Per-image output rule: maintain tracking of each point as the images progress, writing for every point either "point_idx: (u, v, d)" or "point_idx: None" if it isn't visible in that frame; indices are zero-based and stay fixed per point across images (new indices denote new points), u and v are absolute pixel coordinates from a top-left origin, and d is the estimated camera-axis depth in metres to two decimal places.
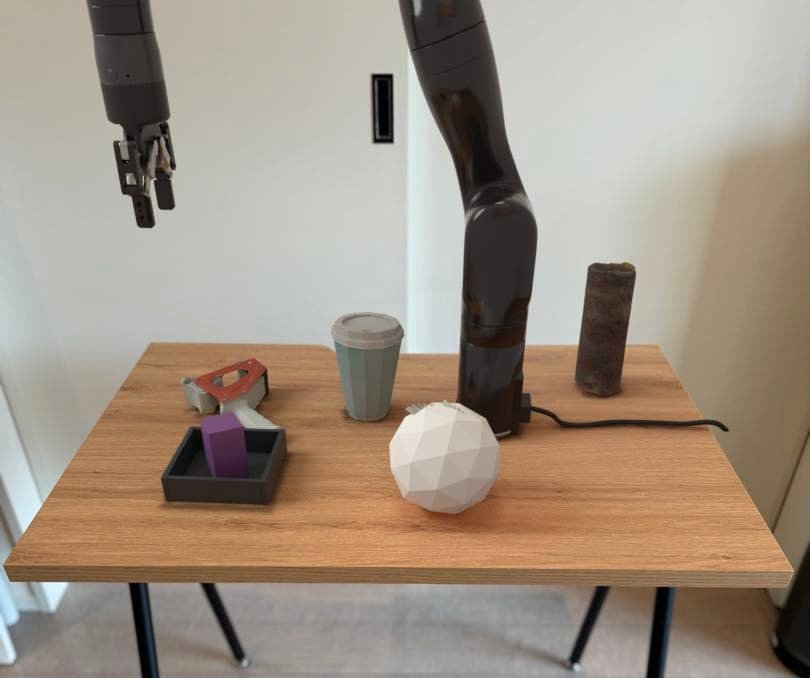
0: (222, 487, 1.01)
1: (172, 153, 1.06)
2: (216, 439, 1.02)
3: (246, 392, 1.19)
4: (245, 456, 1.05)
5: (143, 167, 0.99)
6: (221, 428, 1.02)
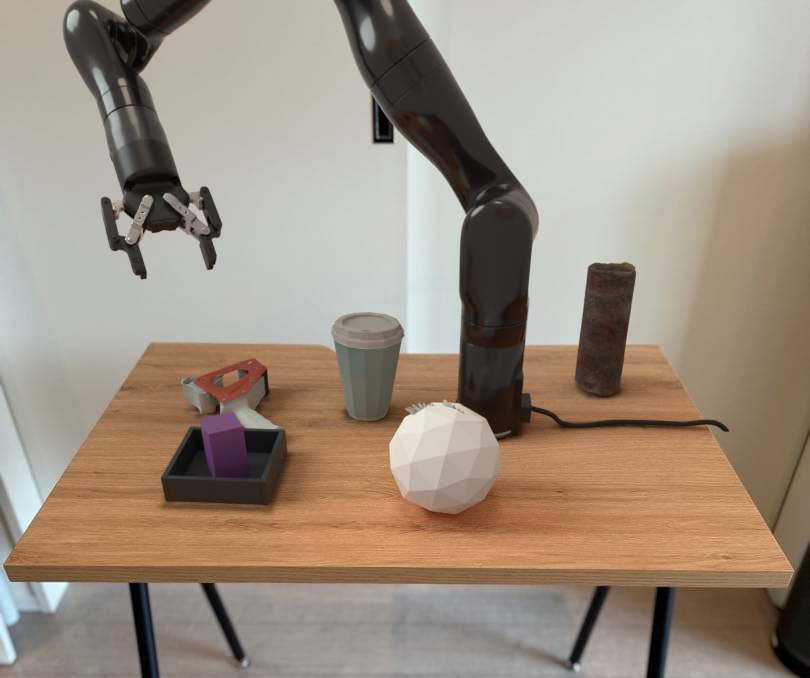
0: (222, 487, 1.01)
1: (214, 213, 1.03)
2: (216, 439, 1.02)
3: (246, 392, 1.19)
4: (245, 456, 1.05)
5: (144, 224, 1.01)
6: (221, 428, 1.02)
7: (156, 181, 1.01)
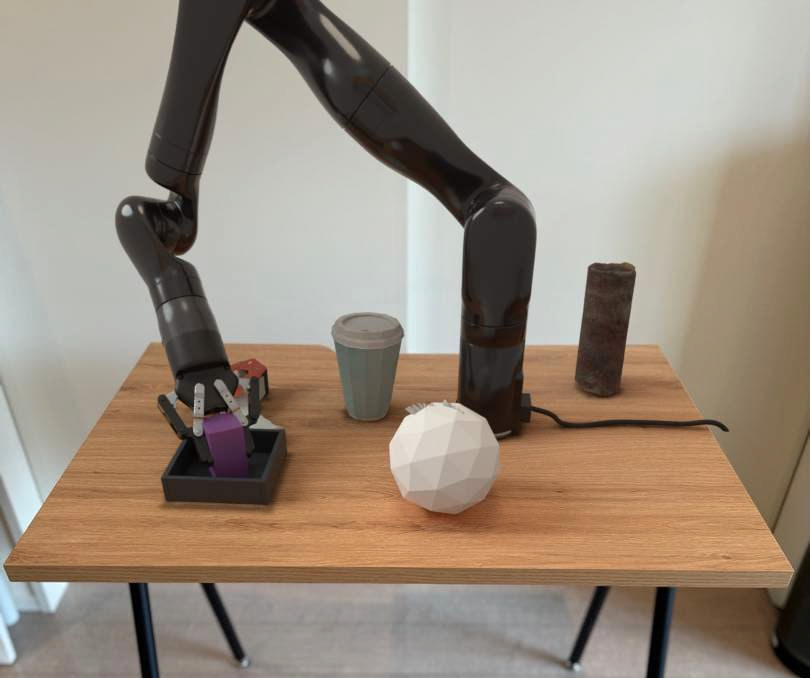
0: (222, 487, 1.01)
1: (255, 403, 1.06)
2: (216, 439, 1.02)
3: None
4: (245, 456, 1.05)
5: None
6: (221, 428, 1.02)
7: (207, 368, 1.04)
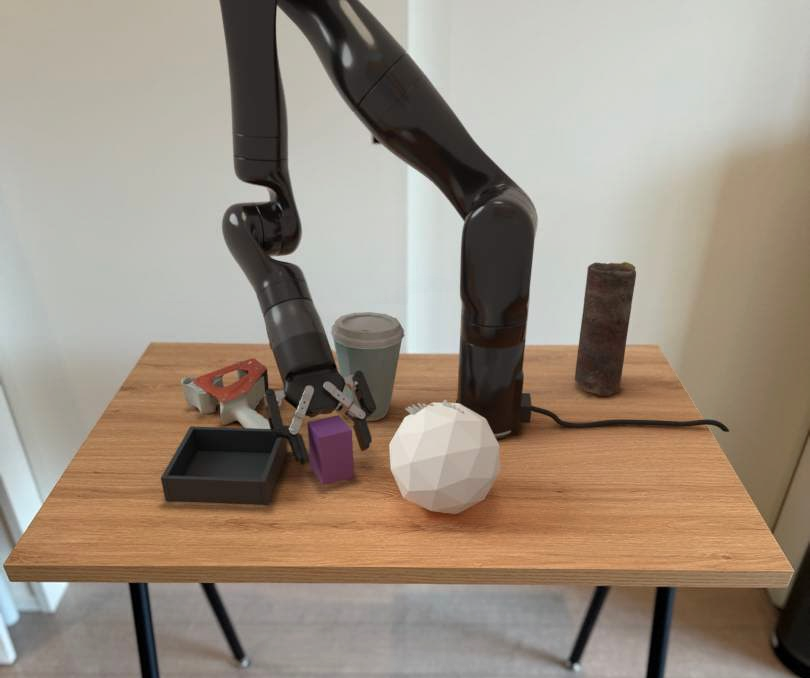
0: (222, 487, 1.01)
1: (368, 397, 1.07)
2: (326, 442, 1.03)
3: (246, 392, 1.19)
4: (351, 459, 1.06)
5: None
6: (330, 432, 1.03)
7: (315, 370, 1.05)
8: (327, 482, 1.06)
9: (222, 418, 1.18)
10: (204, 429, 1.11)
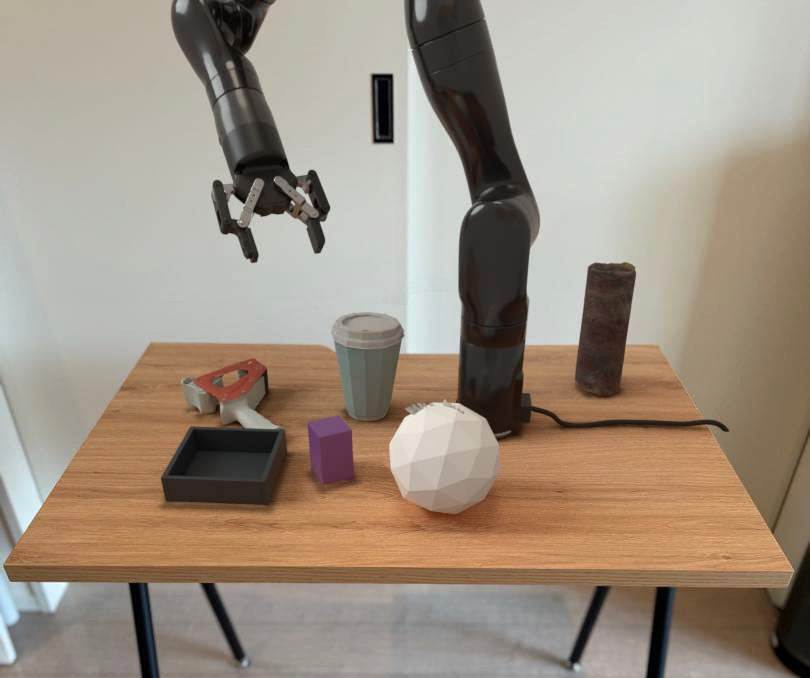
0: (222, 487, 1.01)
1: (322, 196, 1.03)
2: (326, 442, 1.03)
3: (246, 392, 1.19)
4: (351, 459, 1.06)
5: (254, 207, 1.01)
6: (330, 432, 1.03)
7: (266, 164, 1.01)
8: (327, 482, 1.06)
9: (222, 418, 1.18)
10: (204, 429, 1.11)
